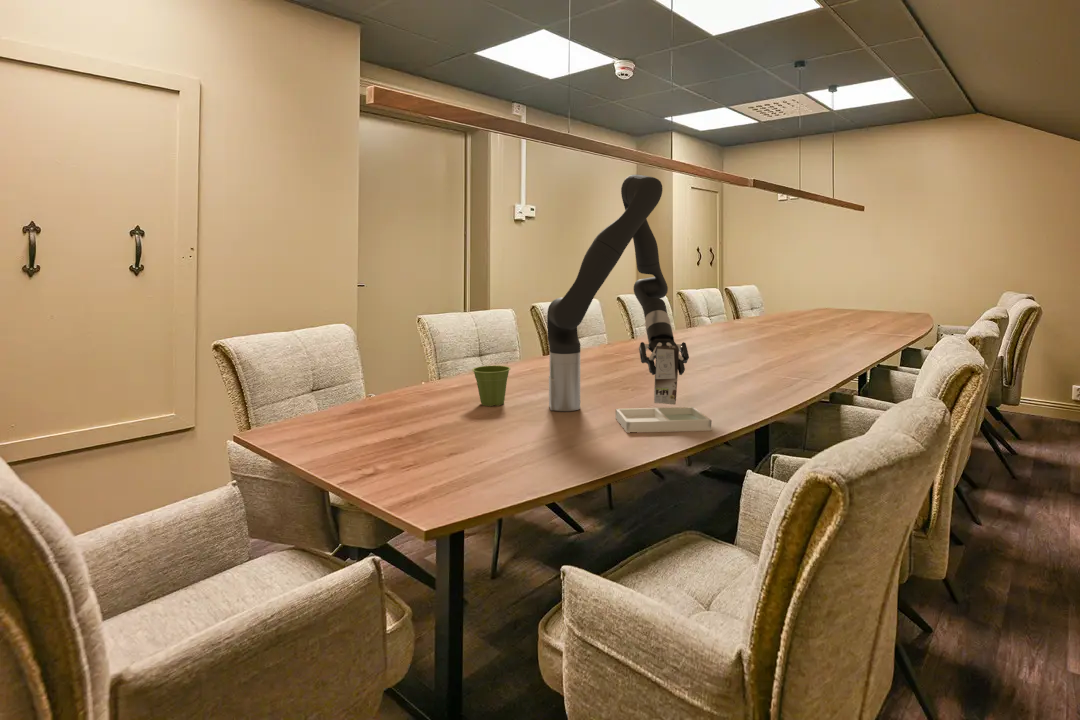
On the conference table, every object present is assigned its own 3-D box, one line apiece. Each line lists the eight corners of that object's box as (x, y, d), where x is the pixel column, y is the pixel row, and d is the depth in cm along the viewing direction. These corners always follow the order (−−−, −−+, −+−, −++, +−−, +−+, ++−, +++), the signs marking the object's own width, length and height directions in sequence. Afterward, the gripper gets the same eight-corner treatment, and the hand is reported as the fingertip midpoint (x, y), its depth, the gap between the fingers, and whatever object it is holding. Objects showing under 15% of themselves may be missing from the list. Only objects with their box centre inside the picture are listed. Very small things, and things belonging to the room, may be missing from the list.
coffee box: (676, 404, 176) (679, 349, 173) (653, 403, 177) (656, 348, 174) (675, 397, 185) (678, 344, 182) (653, 396, 186) (656, 343, 183)
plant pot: (478, 399, 199) (477, 365, 197) (514, 400, 197) (513, 365, 195) (468, 407, 187) (467, 371, 185) (507, 408, 186) (506, 372, 184)
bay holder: (626, 432, 159) (626, 422, 158) (615, 418, 173) (615, 408, 173) (711, 430, 161) (711, 420, 160) (693, 416, 175) (693, 406, 174)
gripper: (638, 321, 183) (646, 366, 173) (684, 321, 184) (695, 365, 175) (633, 336, 189) (640, 380, 179) (678, 336, 190) (688, 380, 181)
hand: (667, 373), depth 177 cm, fingers closed on coffee box, 7 cm apart
